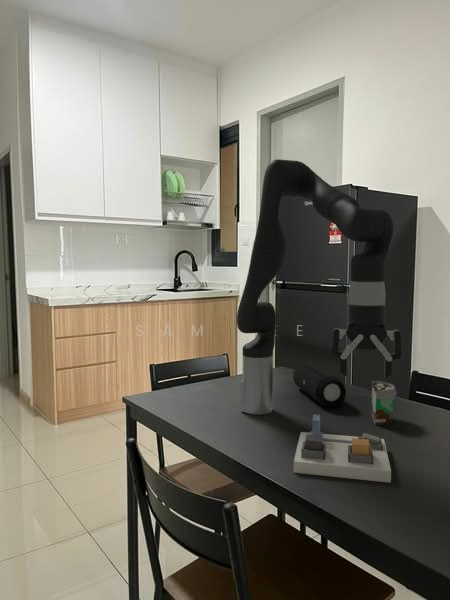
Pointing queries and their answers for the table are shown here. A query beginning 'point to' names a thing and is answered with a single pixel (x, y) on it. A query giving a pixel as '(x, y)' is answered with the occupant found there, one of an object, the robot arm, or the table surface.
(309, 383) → the portable speaker
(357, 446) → the orange push button
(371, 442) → the olive rocker
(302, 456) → the control panel
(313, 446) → the gray push button
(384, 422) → the food container
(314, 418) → the blue paddle
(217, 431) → the table surface
